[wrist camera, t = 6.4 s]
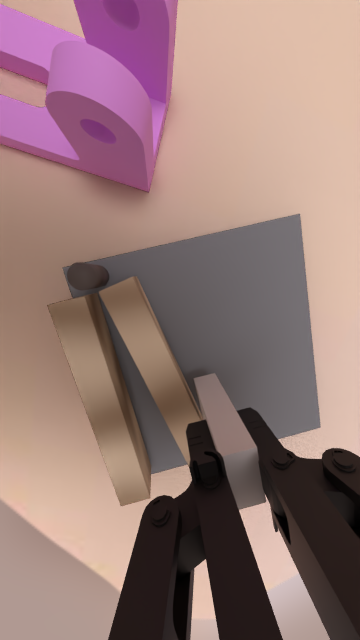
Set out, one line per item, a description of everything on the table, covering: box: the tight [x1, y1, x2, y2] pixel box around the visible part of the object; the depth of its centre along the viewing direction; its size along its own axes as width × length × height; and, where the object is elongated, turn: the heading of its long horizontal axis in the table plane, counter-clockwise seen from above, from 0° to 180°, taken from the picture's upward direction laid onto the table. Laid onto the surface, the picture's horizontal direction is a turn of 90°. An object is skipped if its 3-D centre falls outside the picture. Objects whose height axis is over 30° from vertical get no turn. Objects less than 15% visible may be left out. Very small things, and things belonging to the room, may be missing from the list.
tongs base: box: [47, 263, 151, 506], centre depth 14 cm, size 16×3×3 cm, turn 13°
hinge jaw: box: [99, 276, 203, 466], centre depth 15 cm, size 14×2×2 cm, turn 24°
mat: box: [63, 214, 320, 474], centre depth 16 cm, size 17×16×1 cm
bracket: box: [0, 0, 178, 192], centre depth 9 cm, size 13×6×7 cm, turn 75°
